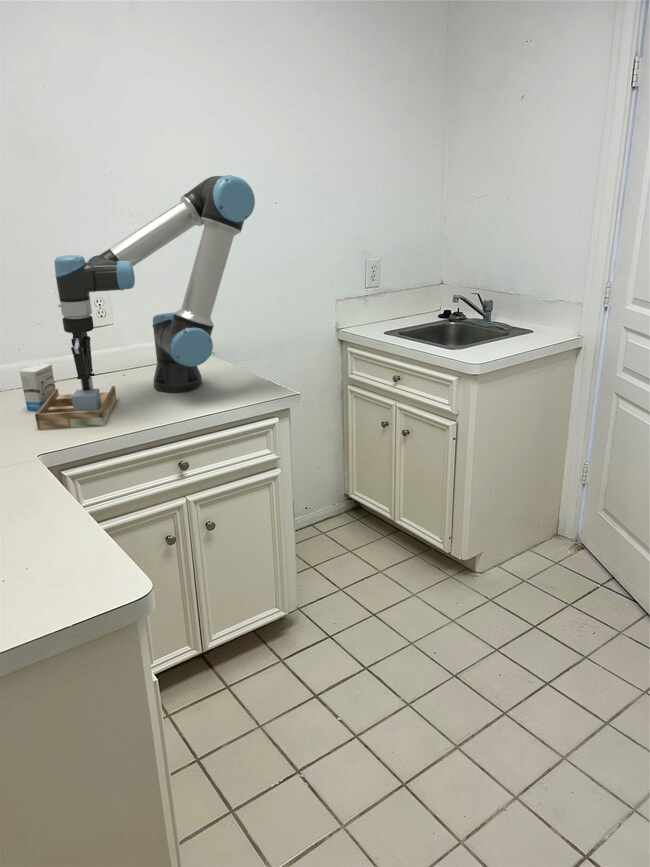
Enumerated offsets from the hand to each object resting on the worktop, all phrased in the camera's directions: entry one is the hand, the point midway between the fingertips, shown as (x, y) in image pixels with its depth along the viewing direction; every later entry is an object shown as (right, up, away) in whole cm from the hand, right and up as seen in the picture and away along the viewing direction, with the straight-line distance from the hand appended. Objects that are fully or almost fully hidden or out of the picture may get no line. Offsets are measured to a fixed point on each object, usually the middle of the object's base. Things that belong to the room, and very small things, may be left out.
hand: (89, 400), depth 179 cm
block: (+1, -3, -3) cm, 4 cm away
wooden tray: (-3, -4, +2) cm, 5 cm away
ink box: (-16, -2, +8) cm, 18 cm away
